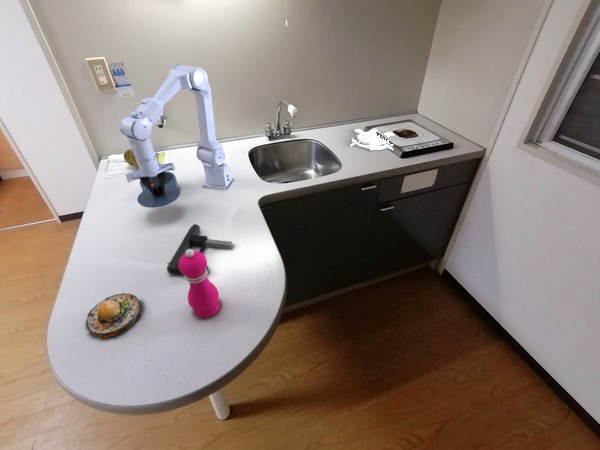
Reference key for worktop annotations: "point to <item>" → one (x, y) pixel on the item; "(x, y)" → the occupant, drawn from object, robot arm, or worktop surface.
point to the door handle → (194, 241)
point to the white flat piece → (371, 140)
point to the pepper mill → (199, 284)
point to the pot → (169, 180)
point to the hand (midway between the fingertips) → (158, 193)
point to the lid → (158, 196)
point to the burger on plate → (113, 315)
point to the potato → (130, 158)
